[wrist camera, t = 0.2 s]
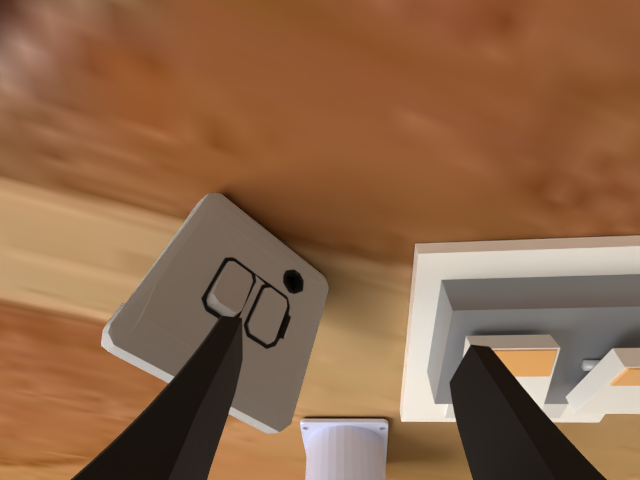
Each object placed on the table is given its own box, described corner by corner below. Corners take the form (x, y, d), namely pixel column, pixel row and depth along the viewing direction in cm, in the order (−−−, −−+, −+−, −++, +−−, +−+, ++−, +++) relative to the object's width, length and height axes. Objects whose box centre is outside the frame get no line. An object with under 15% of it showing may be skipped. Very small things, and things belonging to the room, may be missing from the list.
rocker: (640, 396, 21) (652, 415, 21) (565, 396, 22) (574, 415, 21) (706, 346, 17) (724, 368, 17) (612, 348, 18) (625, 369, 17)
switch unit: (591, 410, 29) (624, 463, 26) (399, 410, 31) (407, 460, 27) (710, 232, 19) (787, 281, 16) (415, 243, 20) (430, 290, 17)
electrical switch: (332, 278, 22) (314, 428, 15) (281, 311, 25) (244, 451, 18) (214, 182, 19) (117, 316, 12) (168, 231, 22) (66, 366, 14)
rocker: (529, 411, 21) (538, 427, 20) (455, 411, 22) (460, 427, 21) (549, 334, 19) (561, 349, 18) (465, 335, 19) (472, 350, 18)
